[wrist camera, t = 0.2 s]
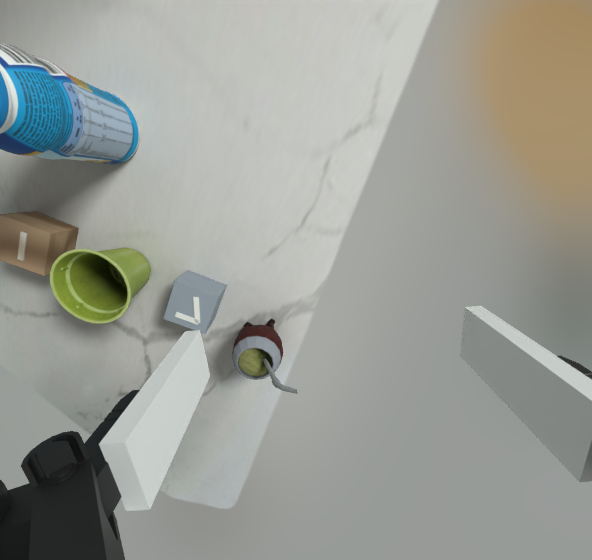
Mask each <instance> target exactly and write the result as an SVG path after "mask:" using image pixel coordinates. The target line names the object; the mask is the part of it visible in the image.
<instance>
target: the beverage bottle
mask: <svg viewBox="0 0 592 560" xmlns="http://www.w3.org/2000/svg"><path fill="white" fill-rule="evenodd" d="M139 139H140V132H139V126H138V122H137V120H136V118H135V116H134V114H133V112H132V111H131V109H130V108H129V107H128V106H127V104H126V103H124V102H123V101H122V100H121V99H120V98H118V97H116V96H115V95H113V94H110V93H108V92H106V91H103V90H100V89H97V88H95V87H93V86H91V85H89V84H87V83H85V82H83V81H81V80H79V79H77V78H75V77H73V76H71V75H69V74H67V73H66V72H64V71H63V70H62V69H61V68H59V67H58V66H56V65H54V64H53V63H51V62H49V61H47V60H44V59H42V58H39V57H36V56H33V55H29V54H28V53H26V52H24V51H22V50H21V49H18V48H16V47H14V46H11V45H8V44H4V43H0V149H2V150H4V151H7V152H10V153H14V154H18V155H32V156H35V157H39V158H44V159H51V160H57V159H69V160H79V161H90V162H99V163H105V164H119V163H123V162H125V161H127V160H128V159H130V158H131V157H132V156H133V155H134V153H135V152H136V150H137V148H138V145H139Z"/></svg>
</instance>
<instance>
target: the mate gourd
mask: <svg viewBox="0 0 592 560" xmlns="http://www.w3.org/2000/svg"><path fill="white" fill-rule="evenodd" d="M274 323H275V320H273V319H270V321H269V322H268V323H267V324H266V326H265V325H252V324H250V323H249V322H247V323H246V324H245V325H244V327H245V328H243V329H242V330H241V332H240V333H239V335H238V337H237V339H236V341H235V343H234V348H233V353H232V354H233V356H232V358H233V362H234V366H235V367H236V369H237V370H238V371H239V372H240V374H242V375H243V376H245V377H247V378H249V379H254V380H258V379H264V378H266V377H268V376H271V379H272V383H273V385H274V386H275V387H276V388H279V389H281V390H283V391H287V392H291V393H298V392H297V390H296V389H293V388H290V387H287V386H284V385H282V384H280V381H279V380H278V379H277V378H276V376H275V374H274V372H275V371H276V370H277V369H278V367H279V365H280V363H281V359H282V356H283V347H282V342H281V339H280V337H279V336H278V334H277V332H276V331H275V330H274V326H273V325H274Z"/></svg>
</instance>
